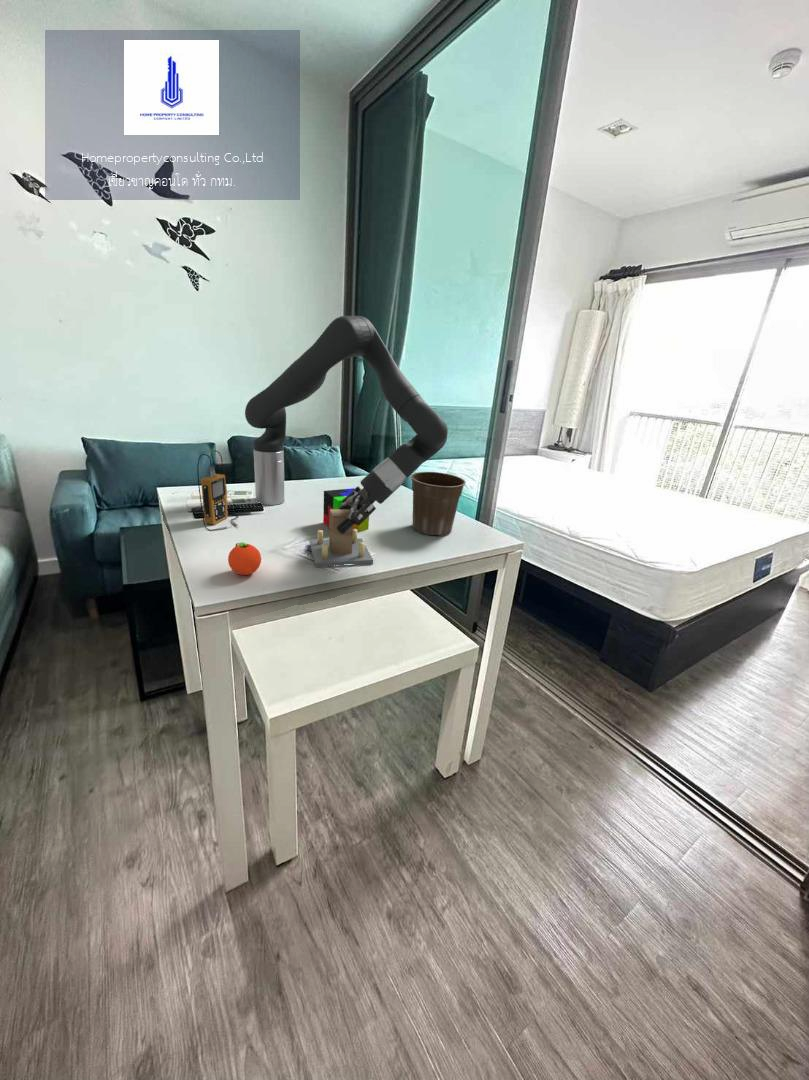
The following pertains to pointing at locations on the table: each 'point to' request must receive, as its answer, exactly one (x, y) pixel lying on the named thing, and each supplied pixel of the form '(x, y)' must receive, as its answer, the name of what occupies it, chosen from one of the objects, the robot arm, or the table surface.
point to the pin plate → (326, 558)
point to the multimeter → (214, 497)
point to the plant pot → (435, 501)
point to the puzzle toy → (334, 502)
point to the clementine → (244, 559)
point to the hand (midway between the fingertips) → (336, 525)
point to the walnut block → (336, 539)
